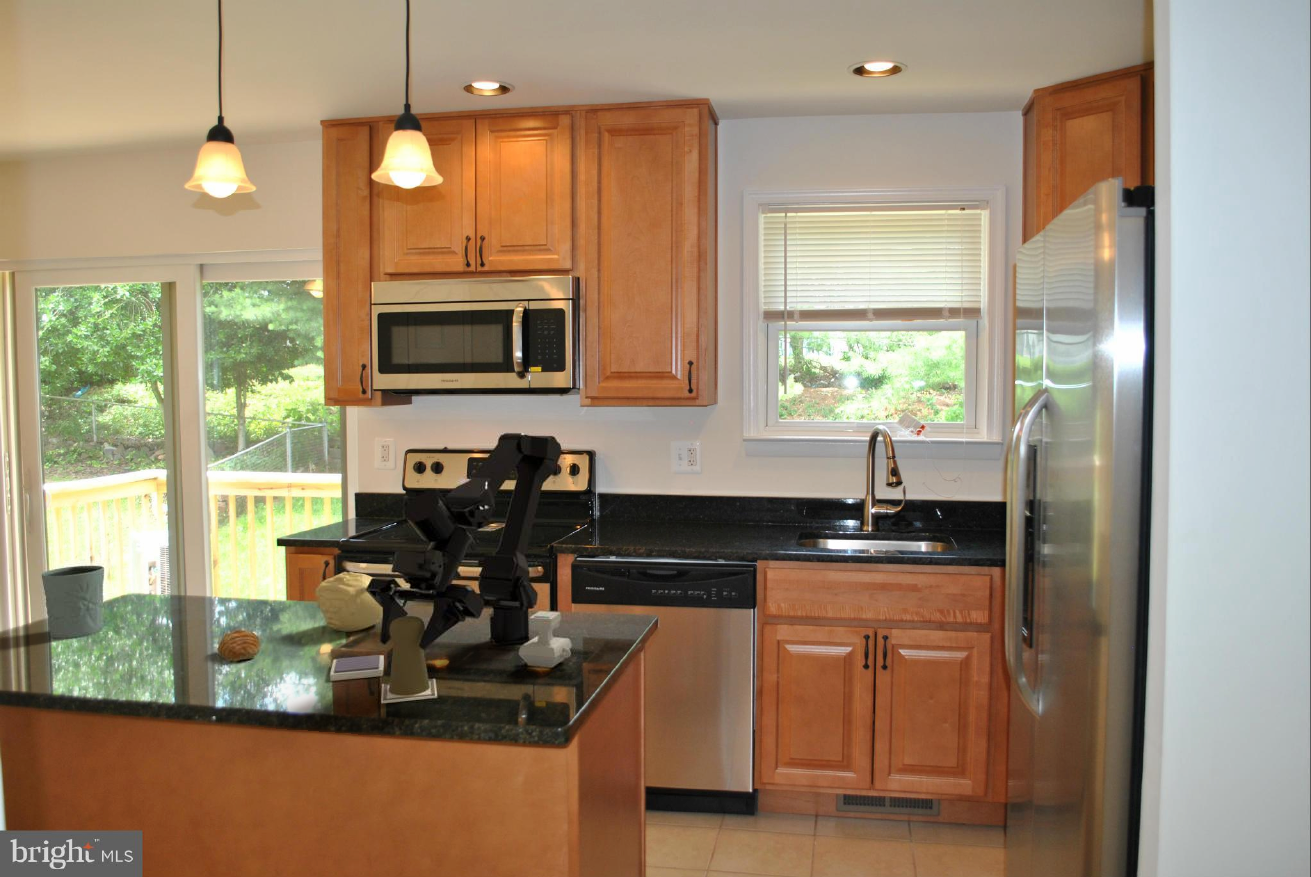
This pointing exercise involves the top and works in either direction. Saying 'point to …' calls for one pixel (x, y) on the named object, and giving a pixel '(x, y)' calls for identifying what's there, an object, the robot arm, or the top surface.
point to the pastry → (239, 645)
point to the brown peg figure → (408, 657)
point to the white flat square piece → (389, 697)
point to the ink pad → (357, 667)
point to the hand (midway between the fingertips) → (401, 645)
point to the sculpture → (348, 602)
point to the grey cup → (74, 601)
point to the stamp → (545, 641)
